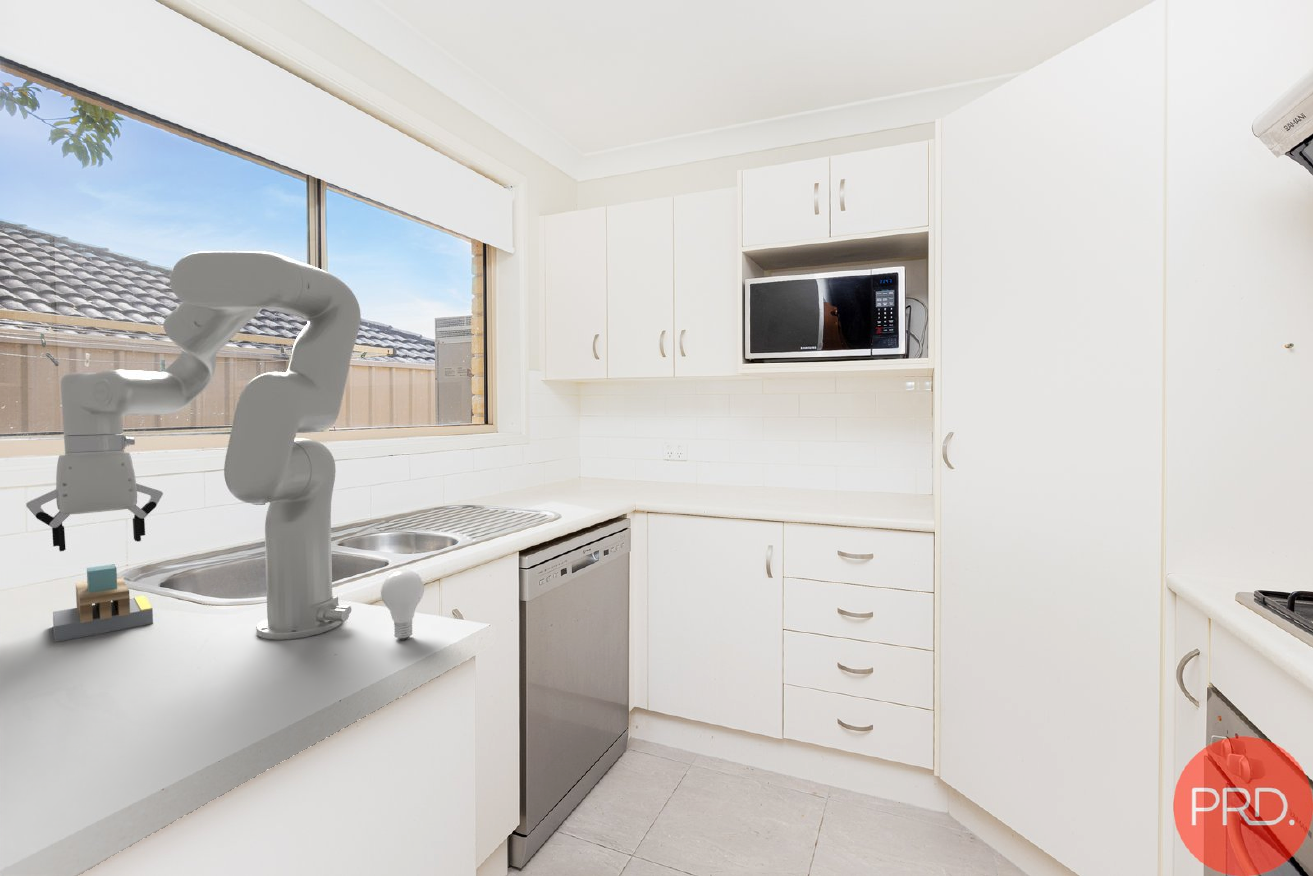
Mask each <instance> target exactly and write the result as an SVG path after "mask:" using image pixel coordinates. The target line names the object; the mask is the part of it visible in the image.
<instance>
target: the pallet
mask: <svg viewBox="0 0 1313 876" xmlns="http://www.w3.org/2000/svg"><path fill="white" fill-rule="evenodd" d="M75 598H76V599H75V601H76V608H77V610H78V614H79V618H80V622H81V623H85V622H90V621H93V614H92V605H95V606H96V609H97V612H98V615H99V617H100V620H101V619H107V618H112V611H111V602H113V604H114V606H115V608H116V611H117V613H118V615H119V616H124V615H129V614H130V599H131V597H130V589H129V587H128V586H127V584H126V582H125V581H124V578H123V577H122V576H117V589H111V590H104V591H98V592H91V593H89V591H88V586H87V581H85V582H84V581H83V582H78V583H75Z"/></svg>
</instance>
